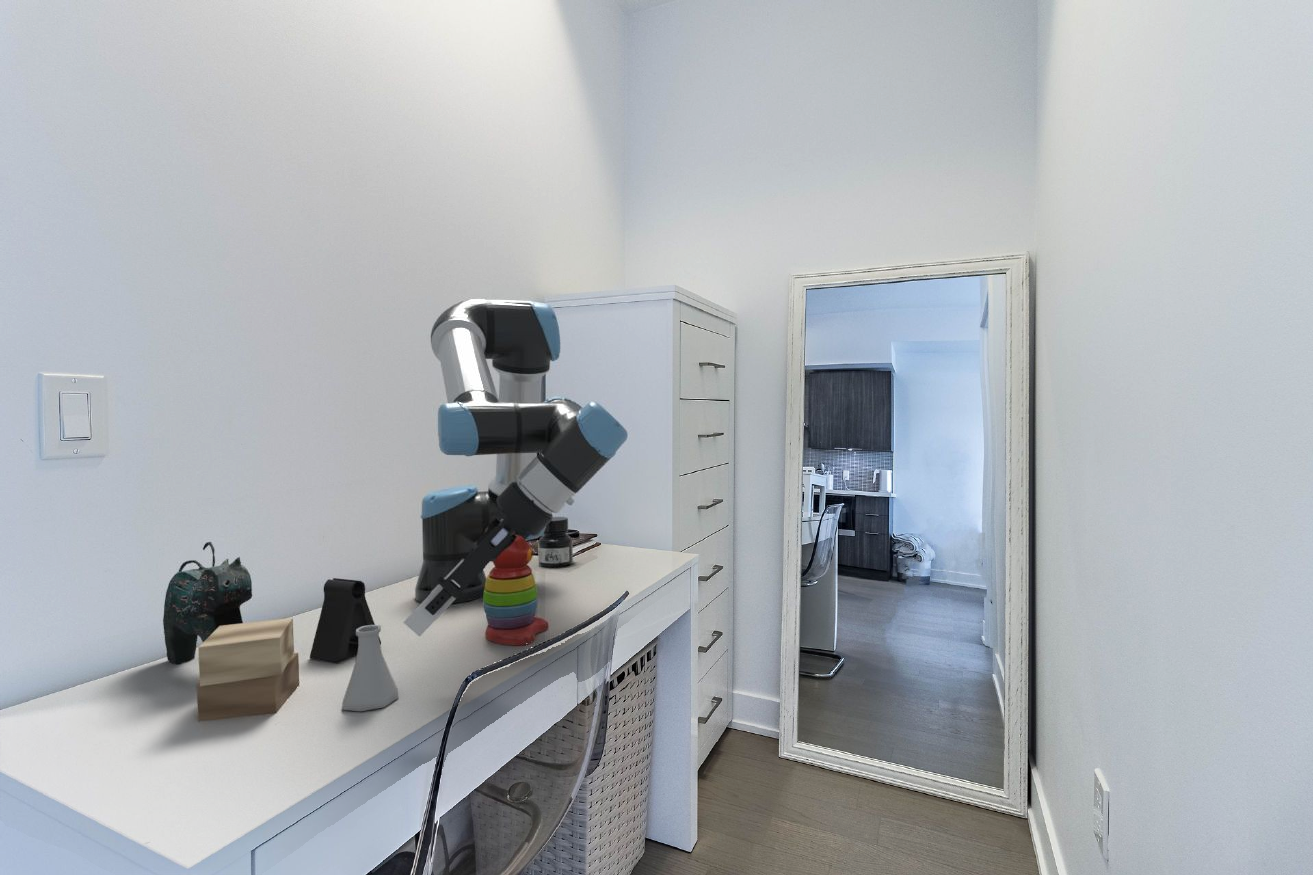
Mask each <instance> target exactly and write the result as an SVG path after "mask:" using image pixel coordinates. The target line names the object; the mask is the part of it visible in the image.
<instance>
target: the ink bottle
mask: <svg viewBox="0 0 1313 875" xmlns="http://www.w3.org/2000/svg"><path fill="white" fill-rule="evenodd" d="M568 532H569V518H568V517H565V516H553V517H552V520H551V521H550V522H549V523H548V524H547V526H546V528H545V531H544V532H543V534H542V535H541V536H540V537H539V540H538V541H537V542H538V544H537V553H538V555H537V557H538V558H537V559H538V565H539V566H541V567H543V568H544V567H545V568H562V567H567V566H569V565H571V564H573V562H574V561H573V560H574V558H573V554H574V553H573V539H572V536H570V535H569V534H568Z"/></svg>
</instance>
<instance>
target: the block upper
mask: <svg viewBox="0 0 1313 875" xmlns="http://www.w3.org/2000/svg"><path fill="white" fill-rule="evenodd" d="M294 639H295V638H294V618H293V617H287V618H277V619H269V620H261V621H260V620H259V621H252V622H250V621H249V622H243V623H241V624H232V625H223V626H219V627H218V628H217V629H216V630H215V631H214V632H213V633H212V634H211V635H210V636H209V637H208V638H207V639H206V640H205V641H204V642H202V643H201V644H199V646H198V647H197V648H198V649H197V650H198V671H199V672H198V675H199V683H200V686H206V685H213V684H220V683H227V682H234V681H241V680H249V679H256V678H263V677H270V676H277V675H281V674H282V672H283V671H284V669H285V667H286V665H287V664H288V662H289V660H290V658H291V656H292V655H293V653H295V645H294V644H295V643H294Z"/></svg>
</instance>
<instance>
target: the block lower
mask: <svg viewBox="0 0 1313 875" xmlns="http://www.w3.org/2000/svg"><path fill="white" fill-rule="evenodd" d="M299 665H300V664H299V652H294V653H293V655H292V656H291V658H290V660H289V662H288V664H287V665H286V667H285V669H284V671H283V672H282V674H281V675H277V676H270V677H263V678H256V679H249V680H241V681H234V682H227V683H220V684H213V685H206V686H200V682H198V683H197V684H196V698H197V700H196V701H197V722H198V723H200V722H208V721H218V720H226V719H227V720H228V719H237V718H245V717H247V716H248V717H256V716H264V715H265V716H266V715H273V714H275V715H276V714H277V713H278V712H279V711H280V710H281V708H282V707H283V706H284V705H285V704H286V702H287V701H288V700H289V699H290V697H291V696H292V695H293V694H294V693H295V691H296V690H297V689H298V688H299V687H300V666H299ZM297 687H298V688H297ZM287 699H288V700H287Z"/></svg>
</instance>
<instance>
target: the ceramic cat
mask: <svg viewBox="0 0 1313 875" xmlns="http://www.w3.org/2000/svg"><path fill="white" fill-rule="evenodd" d="M207 547H210V549H211V553H212V565H211V567H205V566H203V564H201V563H200V562H199V561H198V560H196V559H192V560H186V561H184V562H183V563H182V564H181V565H180V566H179V569H178V571H177V572H176V573H175V574H174V575H173V576H172V578H171V579H170V580H169V583H168V585H167V589H166V591H165V598H164V605H163V617H162V624H163V634H164V644H165V647H166V657H167V661H168V662H170V663H171V664H174V665H179V664H182V663H185V662H189V661H193V660H194V659H195V658H196V652H197V643H198V637H199V638H200V639H201V641H202V643H203V642H204V641H205V640H206V639H207V638H208V637H209V636H210V635H211V634H212V633H213V632H214V631H215V630H216V629H217V628H218V627H219V626H223V625H232V624H241V623H244V622H243V617H242V613H241V605H243V604H244V603H247V602H248V601H250V600H251V599H252V597H253V588H252V587H253V586H252V585H253V584H252V582H253V581H252V578H251V574H250V572H249V570H248V569H247V568H246V566H244V565H243V564H242V561H241V557H240V556H238V557H237V558H235V559H234V561H232V562H231V563H229V558H226V559H225V560H224V561H223V562H222V563H221V564H220V565H216V566H215V564H216V557H215V551H216V550H215V547H214V545H213V543H212V541H208V542H205V544H203V547H202V550H203V551H205V550H206V549H207ZM192 563H194V564H196V565H197V566H198V568H193V569H188V570H184V568H185V567H186V566H187V565H188V564H192Z"/></svg>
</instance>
